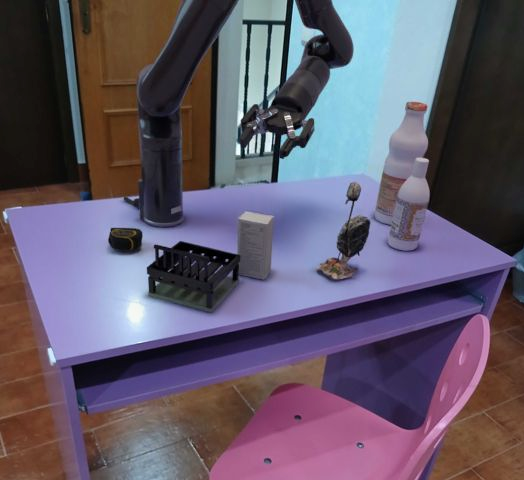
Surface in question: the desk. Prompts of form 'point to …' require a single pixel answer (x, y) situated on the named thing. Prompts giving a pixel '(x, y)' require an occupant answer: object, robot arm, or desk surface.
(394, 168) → the fruit juice
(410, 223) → the bath foam
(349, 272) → the plant with pod
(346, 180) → the desk surface
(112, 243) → the tape measure
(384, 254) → the desk surface
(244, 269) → the cosmetic box
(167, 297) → the dish rack
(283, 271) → the desk surface
